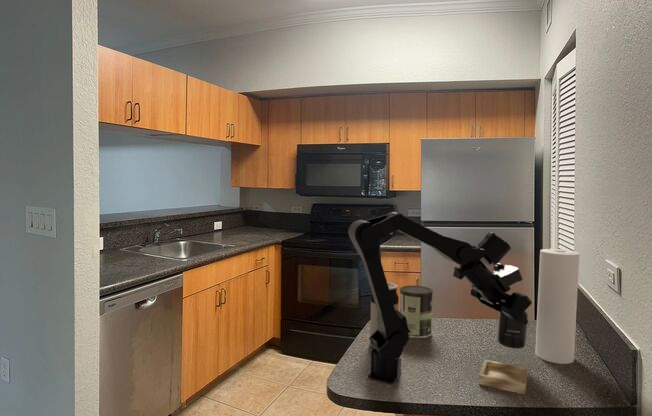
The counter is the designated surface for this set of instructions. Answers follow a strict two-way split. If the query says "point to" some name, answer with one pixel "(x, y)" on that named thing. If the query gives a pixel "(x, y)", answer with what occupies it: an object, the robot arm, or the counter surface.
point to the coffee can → (417, 310)
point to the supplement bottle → (511, 332)
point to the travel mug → (374, 312)
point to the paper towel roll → (557, 305)
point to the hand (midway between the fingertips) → (517, 319)
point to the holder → (503, 376)
